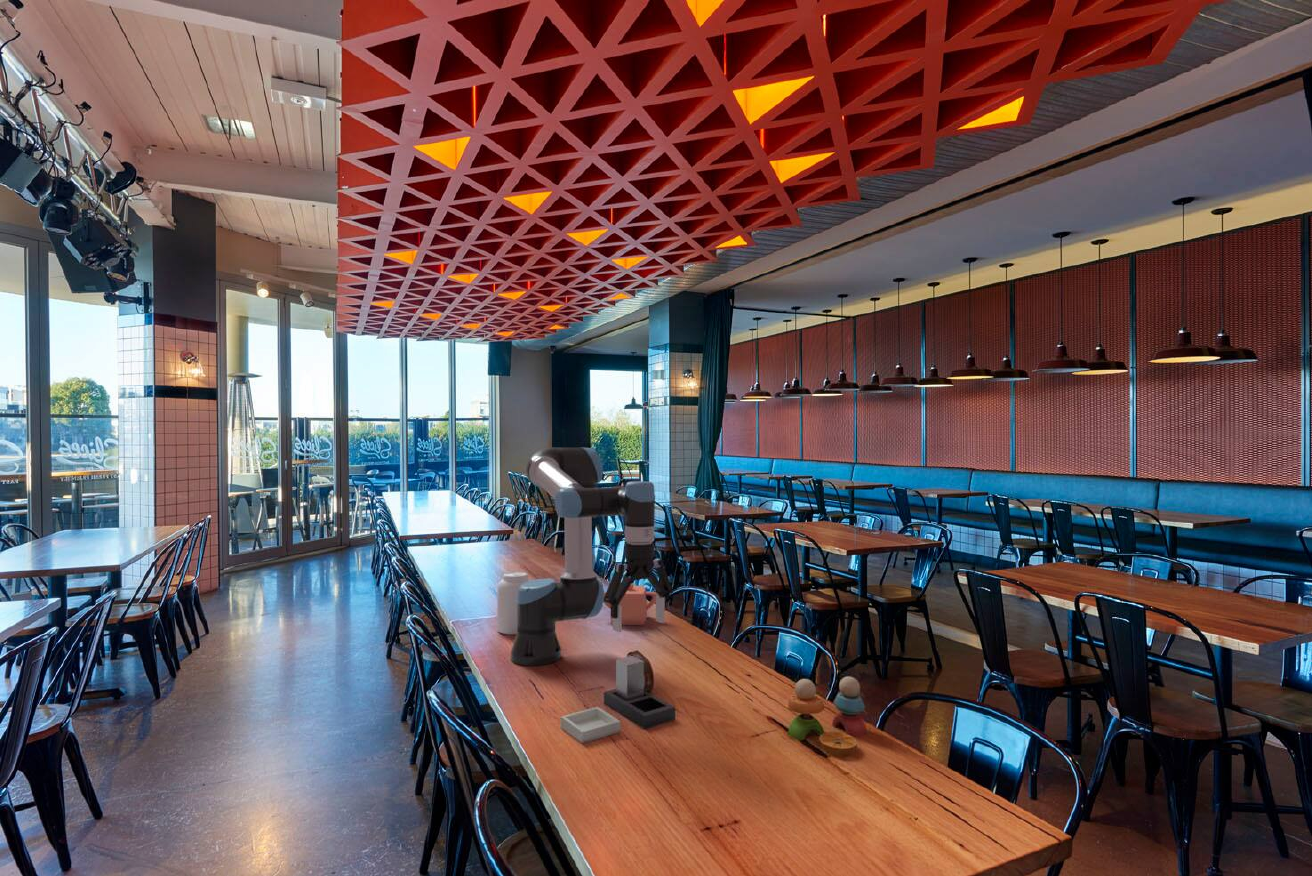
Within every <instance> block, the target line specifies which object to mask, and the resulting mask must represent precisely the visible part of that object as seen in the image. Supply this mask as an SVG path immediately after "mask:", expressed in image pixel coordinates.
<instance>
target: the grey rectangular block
mask: <svg viewBox="0 0 1312 876" xmlns="http://www.w3.org/2000/svg"><path fill="white" fill-rule="evenodd" d="M615 665H616V666H615V669H616V670H615V689H616V696H618V697H620V698H621V699H623V700H625V701H629V700H633V699H636V698H640V697H643V689H644V661H642V660H640V659H638V658H636V657H634V656H630V657H627V656H626V657H622V658H617V659H616V660H615Z"/></svg>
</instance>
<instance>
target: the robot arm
mask: <svg viewBox="0 0 1312 876" xmlns="http://www.w3.org/2000/svg"><path fill="white" fill-rule="evenodd" d="M525 472H526V475H527V478H528V479H529V481H530V482H531V483H532V485H534V486H535V487H538V488H542V489H543V490H544V491H546V492H547V493H548V494H549V495H550V497H552V498H553V499H554V507H555V508H554V509H555V511H556V514H557V516H558V517H559V518H562V519H563V518H564V571H563V572H562V573H561V575H560V580H559V582H556V580H555V578H549V577H548V578H538V579H532V580H531V581H528V582H526V583H524V584H522V585H521V586H520V587H519V589H518V595H517V634H515V639H514V642H513V644H512V647H511V650H510V661H512V662H513V663H515V664H518V665H522V666H543V665H549V664H551V663H552V664H553V663H555V662H557V661H558V660H560V659H561V658H562V649H561V645H560V641H559V640H558V636H557V632H556V623H557V622H563V621H572V620H580V619H581V620H582V619H583V620H585V619H588V618H593V617H596V616H597V615H599V614H600V612H601V610H602V608H603V605H604V603H603V601H604V602H606V603H609V604H610V605H611V609H610V618H611V617H612V618H613V625H612V630H613V631H615V632H617V633H621V632H622V628H623V627H622V626H623V625H622V605H620V604H619V603H620V601H621V600H622V598H623V596H624V595H625V593H626V592H627V590H628V588H629V587H630V585H631V584H634V582H635V581H640V580H647V581H648V582H649V583H650V585H651V586H652V587H653V589H654V590H655V592H656V593H657V594H658V595H659V596H656V602H655V622H658V623H661V624H665V615H666V613H665V609H667V598H669V597H670V594H673V592H674V590H673V587H672V584H671V582H670V579H669V577H668V574H667V571H666V570H665V566H664V560H663V559H662V558H657V557H655V543H654V541H655V515H656V514H655V509H656V506H655V505H656V495H655V485H654V483H653V482H652V481H645V480H644V481H643V480H642V481H641V480H637V481H628V482H626V484H625V486H623V485H619V486H612V487H610V486H609V487H597V485H598V484H600V483H601V481H602V477H603V464H602V460H601V457H600V455H599V453H598V452H597V451H596V450H595V449H594V448H592V447H591V448H590V447H581V446H579V447H554V446H553V447H546V448H542V449H540V450H538V451H536V452H535V453H533V454H532V455H531V457H530V458H529V459H528V461H527V464H526V471H525ZM612 516H613V517H617V516H624V542H626V543H625V544H624V557H625V563H624V564H622V563H615V564H614V570H613V573H612V577H611V579H610V582H609V584H608V587H607V589H606V591H607V592H606V594H605V597H604V592H605V590H604V584H603V582H602V580H600V579H599V578H598V574H597V573H596V572H595V571H594V570H593V547H592V546H593V544H592V543H593V539H592V538H593V534H592V533H593V531H592V527H593V526H592V523H593V520H592V517H594V518H595V517H612ZM654 557H655V558H654ZM653 569H654V570H655V573H656V574H655V573H654V571H653Z"/></svg>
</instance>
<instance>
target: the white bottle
mask: <svg viewBox="0 0 1312 876" xmlns="http://www.w3.org/2000/svg"><path fill="white" fill-rule="evenodd" d="M528 581H532V580H531V579H530V578H529V575H528V573H527V572H524V571H509V572H506V573H504V574H503V576H502V579H501V580H500V581H499V582H498V584H497V588H496V589H497V591H496V592H497V595H496V596H497V601H496V603H497V607H496V610H497V611H496V631H498V633H500V634H503V635H510V636H511V635H517V595H518V589H519V587H520V586H521V585H522V584H524V583H526V582H528Z"/></svg>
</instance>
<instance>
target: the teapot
mask: <svg viewBox="0 0 1312 876" xmlns="http://www.w3.org/2000/svg"><path fill="white" fill-rule="evenodd" d="M606 592H607V590H606V591H605V590H604V597H605V594H606ZM647 596H651V597H652V598H651V600H650V601H649V603H648V604H647ZM656 596H660V595H659V594H658V593H657V591H646V587H645V585H635V584H634V583H632V584H631V585H630V587H629V588H628V590H627V592H626V593H625V595H624V596H623V598H622V600H621V601H620V603H619V604H620V605H622V626H643V625H645V624H646V622H647V616H648V610H649V609H651V607H652V606H654V605H655V604H656ZM603 605H605V606H606V607H607V608H608V609H609V610H611V605H610V604H609V603H606V602H604V601H603ZM610 623H611V625H612V626H613V618H612V617H611V616H610Z"/></svg>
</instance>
